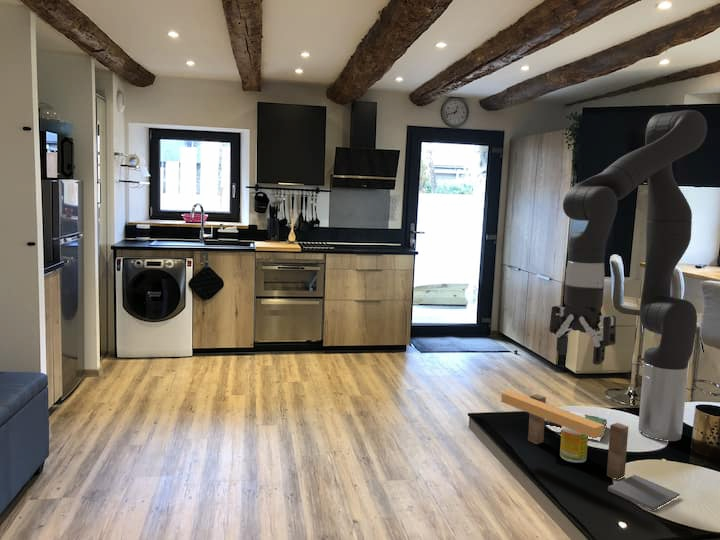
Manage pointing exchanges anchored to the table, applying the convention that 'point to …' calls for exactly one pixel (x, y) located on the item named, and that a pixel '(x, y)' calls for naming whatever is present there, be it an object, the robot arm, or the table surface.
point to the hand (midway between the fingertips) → (579, 359)
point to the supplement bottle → (573, 444)
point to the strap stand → (615, 441)
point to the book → (643, 492)
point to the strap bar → (554, 414)
